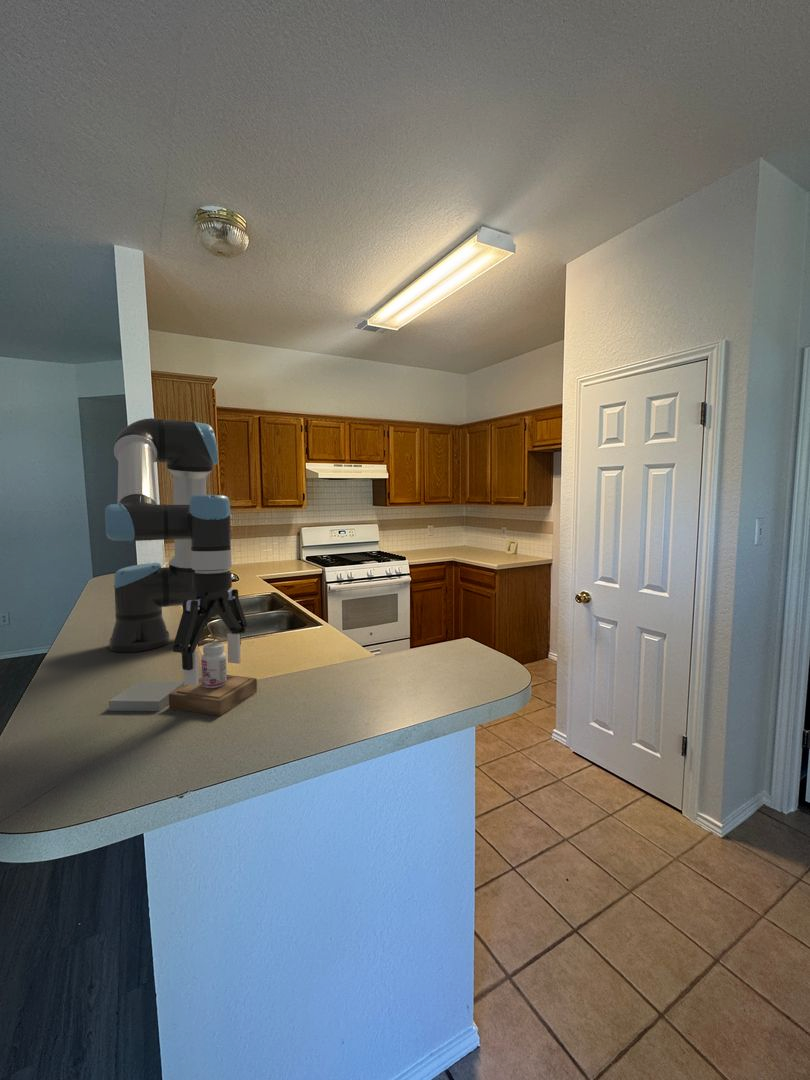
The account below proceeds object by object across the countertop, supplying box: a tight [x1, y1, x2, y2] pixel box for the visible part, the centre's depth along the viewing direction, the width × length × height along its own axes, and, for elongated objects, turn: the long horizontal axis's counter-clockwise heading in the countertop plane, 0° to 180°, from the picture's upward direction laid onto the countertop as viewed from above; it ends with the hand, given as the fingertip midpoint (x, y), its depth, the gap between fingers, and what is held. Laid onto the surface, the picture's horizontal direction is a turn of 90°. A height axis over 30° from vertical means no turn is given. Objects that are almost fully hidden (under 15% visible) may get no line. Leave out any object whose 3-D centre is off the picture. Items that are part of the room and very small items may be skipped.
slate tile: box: [108, 680, 185, 712], centre depth 94 cm, size 10×10×2 cm
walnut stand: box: [168, 674, 258, 717], centre depth 95 cm, size 12×12×3 cm
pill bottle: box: [201, 641, 228, 688], centre depth 94 cm, size 5×5×8 cm
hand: (214, 673), depth 94 cm, fingers open, 12 cm apart
